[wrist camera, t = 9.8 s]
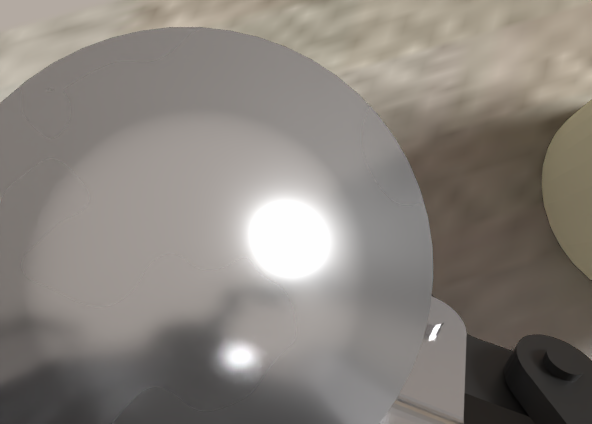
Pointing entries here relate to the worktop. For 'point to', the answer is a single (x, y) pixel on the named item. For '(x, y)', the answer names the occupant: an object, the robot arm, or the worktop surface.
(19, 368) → the clear tapered piece
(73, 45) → the worktop surface
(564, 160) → the reusable coffee cup
